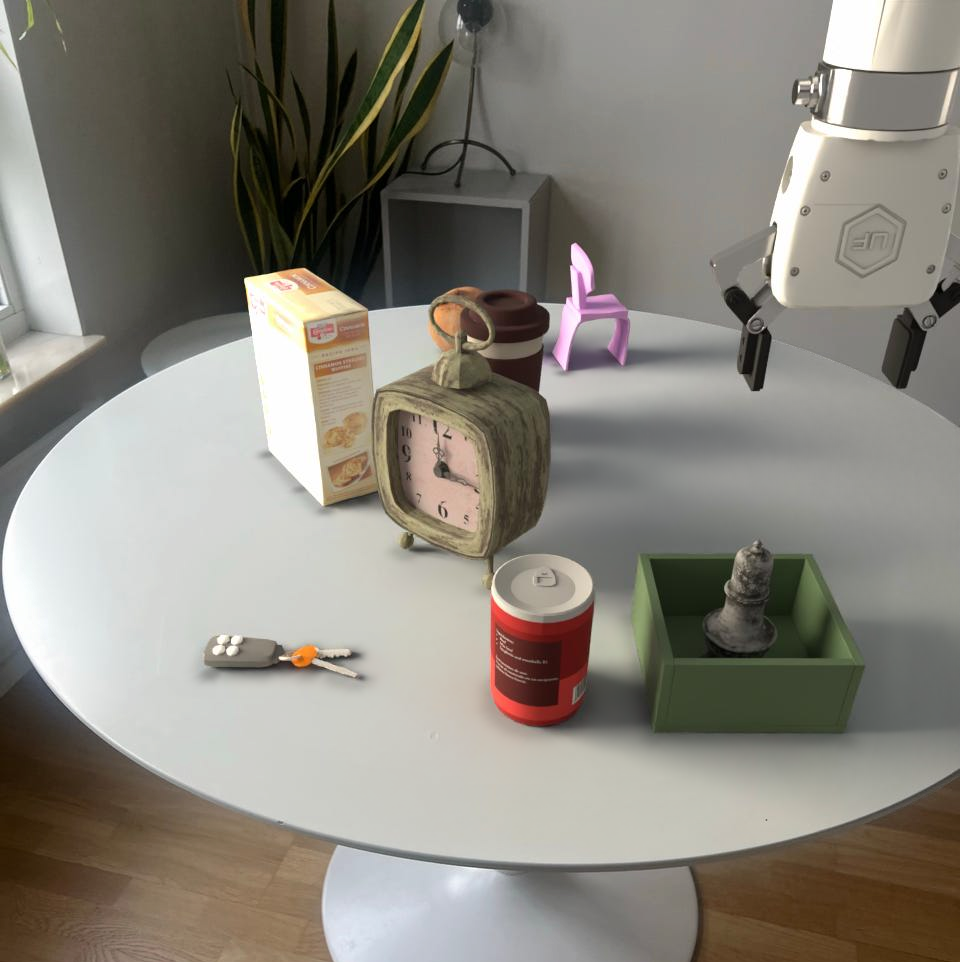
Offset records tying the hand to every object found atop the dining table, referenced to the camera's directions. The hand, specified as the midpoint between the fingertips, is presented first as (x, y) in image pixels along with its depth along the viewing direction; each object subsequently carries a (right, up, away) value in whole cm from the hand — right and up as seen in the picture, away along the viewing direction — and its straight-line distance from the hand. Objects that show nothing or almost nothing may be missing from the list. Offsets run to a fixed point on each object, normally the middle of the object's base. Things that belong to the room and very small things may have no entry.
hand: (822, 381), depth 66 cm
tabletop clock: (-25, -10, +27) cm, 38 cm away
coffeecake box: (-41, +1, +40) cm, 57 cm away
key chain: (-40, -20, +15) cm, 47 cm away
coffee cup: (-21, +8, +49) cm, 54 cm away
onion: (-26, +21, +66) cm, 74 cm away
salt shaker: (-3, -20, +13) cm, 24 cm away
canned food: (-19, -22, +11) cm, 31 cm away
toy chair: (-9, +20, +64) cm, 68 cm away
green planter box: (-3, -20, +14) cm, 25 cm away
